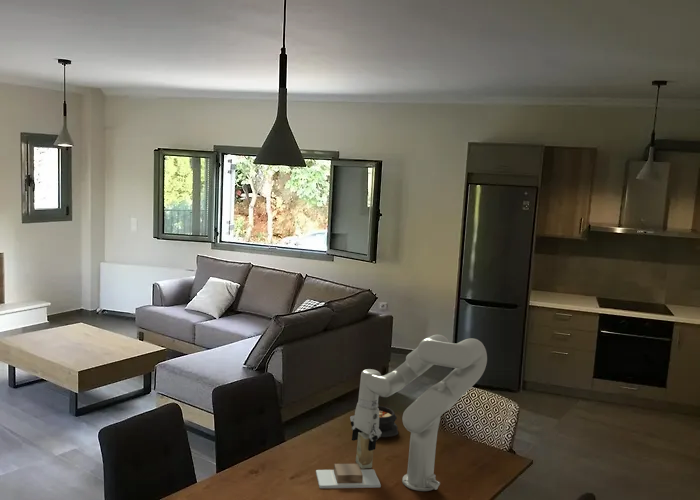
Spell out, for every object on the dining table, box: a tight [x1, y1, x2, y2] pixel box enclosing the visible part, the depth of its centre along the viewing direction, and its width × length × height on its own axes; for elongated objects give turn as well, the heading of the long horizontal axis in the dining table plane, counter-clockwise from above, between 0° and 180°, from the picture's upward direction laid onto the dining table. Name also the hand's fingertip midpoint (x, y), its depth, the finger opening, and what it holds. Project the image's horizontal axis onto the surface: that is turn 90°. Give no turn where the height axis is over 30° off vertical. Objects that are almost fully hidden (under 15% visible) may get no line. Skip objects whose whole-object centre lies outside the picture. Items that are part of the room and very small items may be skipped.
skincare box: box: [355, 431, 374, 470], centre depth 240 cm, size 6×4×12 cm
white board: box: [315, 468, 382, 489], centre depth 228 cm, size 22×12×1 cm, turn 100°
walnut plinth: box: [333, 463, 363, 483], centre depth 228 cm, size 9×9×3 cm
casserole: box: [372, 405, 399, 438], centre depth 276 cm, size 25×19×8 cm
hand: (363, 444), depth 240 cm, fingers open, 9 cm apart
